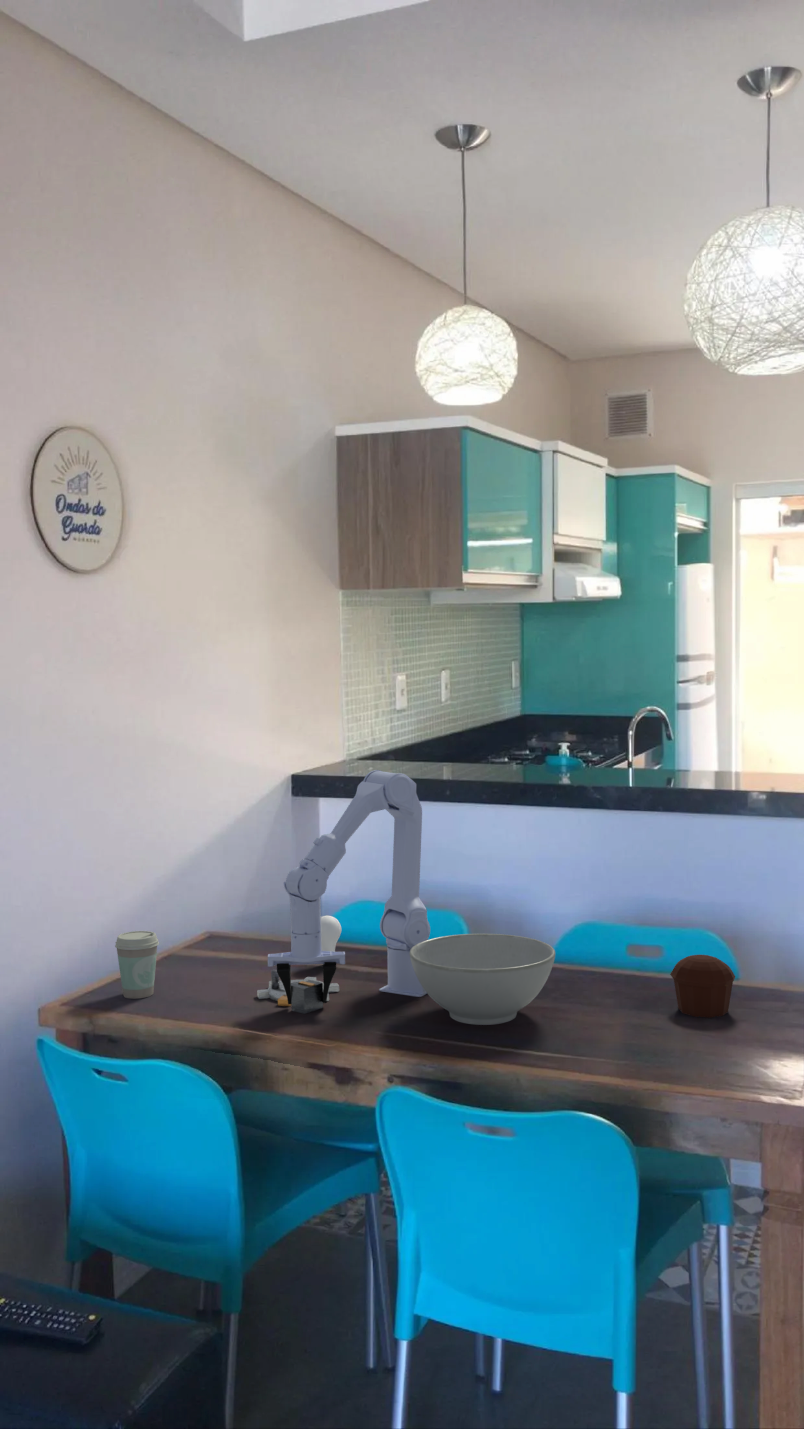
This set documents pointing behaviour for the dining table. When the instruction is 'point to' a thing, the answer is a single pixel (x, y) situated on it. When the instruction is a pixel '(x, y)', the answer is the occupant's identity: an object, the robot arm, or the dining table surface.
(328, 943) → the lightbulb
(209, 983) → the dining table surface
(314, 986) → the banded cube
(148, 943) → the coffee cup
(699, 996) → the muffin
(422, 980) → the decorative bowl
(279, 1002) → the sprocket
